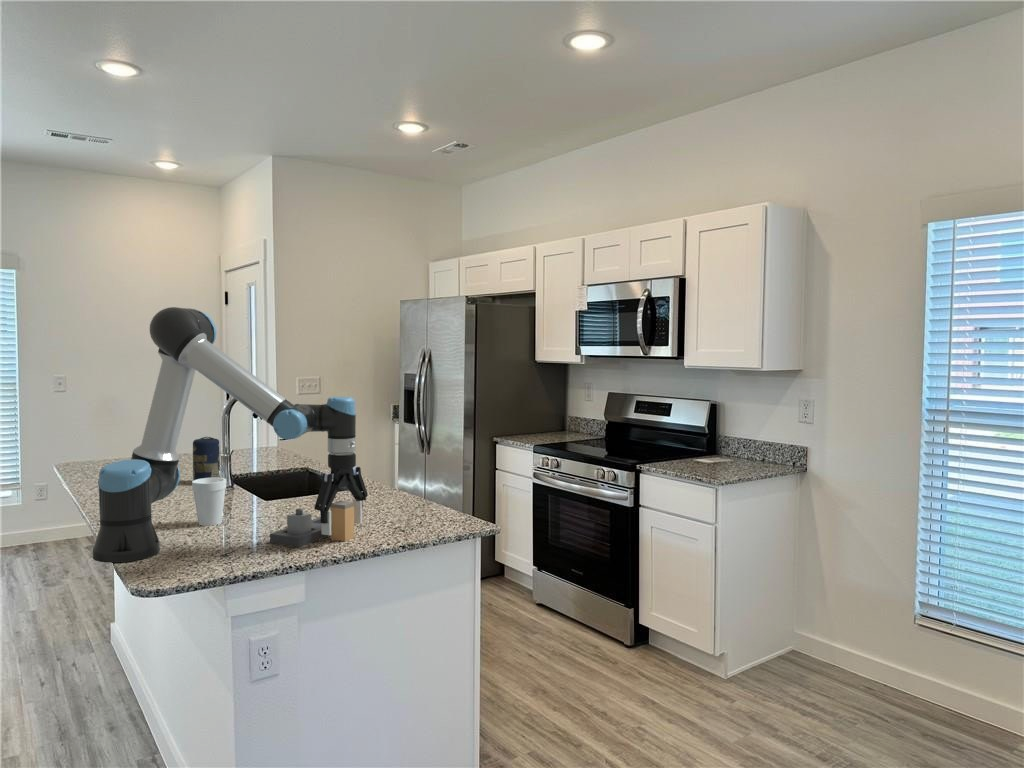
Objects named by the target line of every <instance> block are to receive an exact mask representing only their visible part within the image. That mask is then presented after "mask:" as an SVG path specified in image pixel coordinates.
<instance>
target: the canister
mask: <svg viewBox="0 0 1024 768" xmlns="http://www.w3.org/2000/svg"><path fill="white" fill-rule="evenodd" d="M220 455H221V454H220V440H219V438H214V437H211V436H203V437H200V438H196V439H194V440H193V442H192V468H193V469H192V472H193V473H192V479H193V480H192V481H194V480H197V479H202V478H219V476H220V471H219V469H220V467H221V463H220V460H221V459H220ZM220 470H221V469H220Z"/></svg>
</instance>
